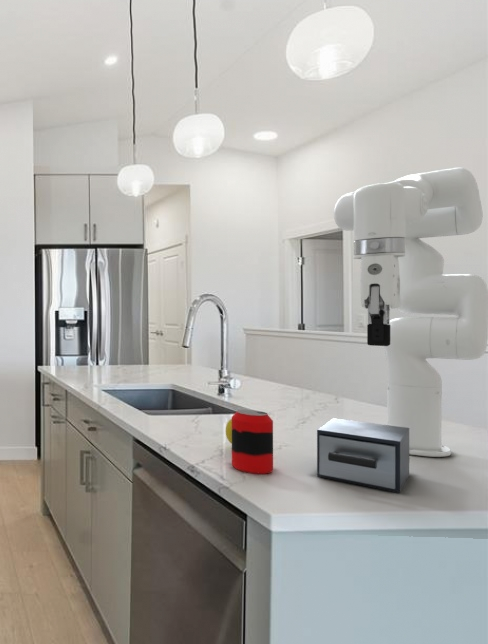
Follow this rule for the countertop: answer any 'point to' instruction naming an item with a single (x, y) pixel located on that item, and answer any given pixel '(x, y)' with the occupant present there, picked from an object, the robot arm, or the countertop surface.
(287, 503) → the countertop surface
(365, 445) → the drawer
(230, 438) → the lemon
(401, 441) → the cabinet
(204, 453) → the countertop surface
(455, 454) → the countertop surface
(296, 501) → the countertop surface
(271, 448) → the soda can
